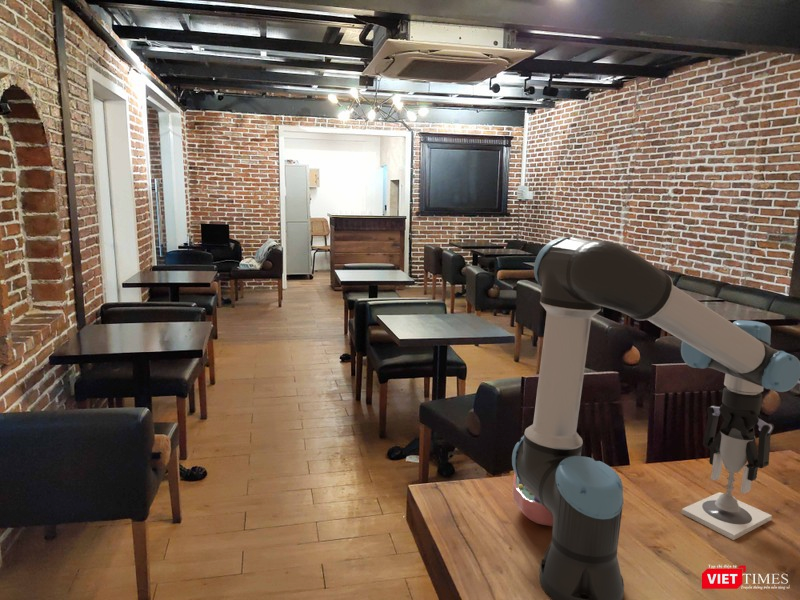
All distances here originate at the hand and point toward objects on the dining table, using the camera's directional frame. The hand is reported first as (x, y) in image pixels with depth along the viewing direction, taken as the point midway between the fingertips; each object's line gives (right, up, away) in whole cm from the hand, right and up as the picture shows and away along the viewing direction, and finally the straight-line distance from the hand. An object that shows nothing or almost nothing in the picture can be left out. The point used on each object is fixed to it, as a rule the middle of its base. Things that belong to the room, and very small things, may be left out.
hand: (730, 484), depth 127 cm
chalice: (0, -5, +1) cm, 6 cm away
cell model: (-42, -7, 0) cm, 43 cm away
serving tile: (0, -8, +1) cm, 8 cm away
